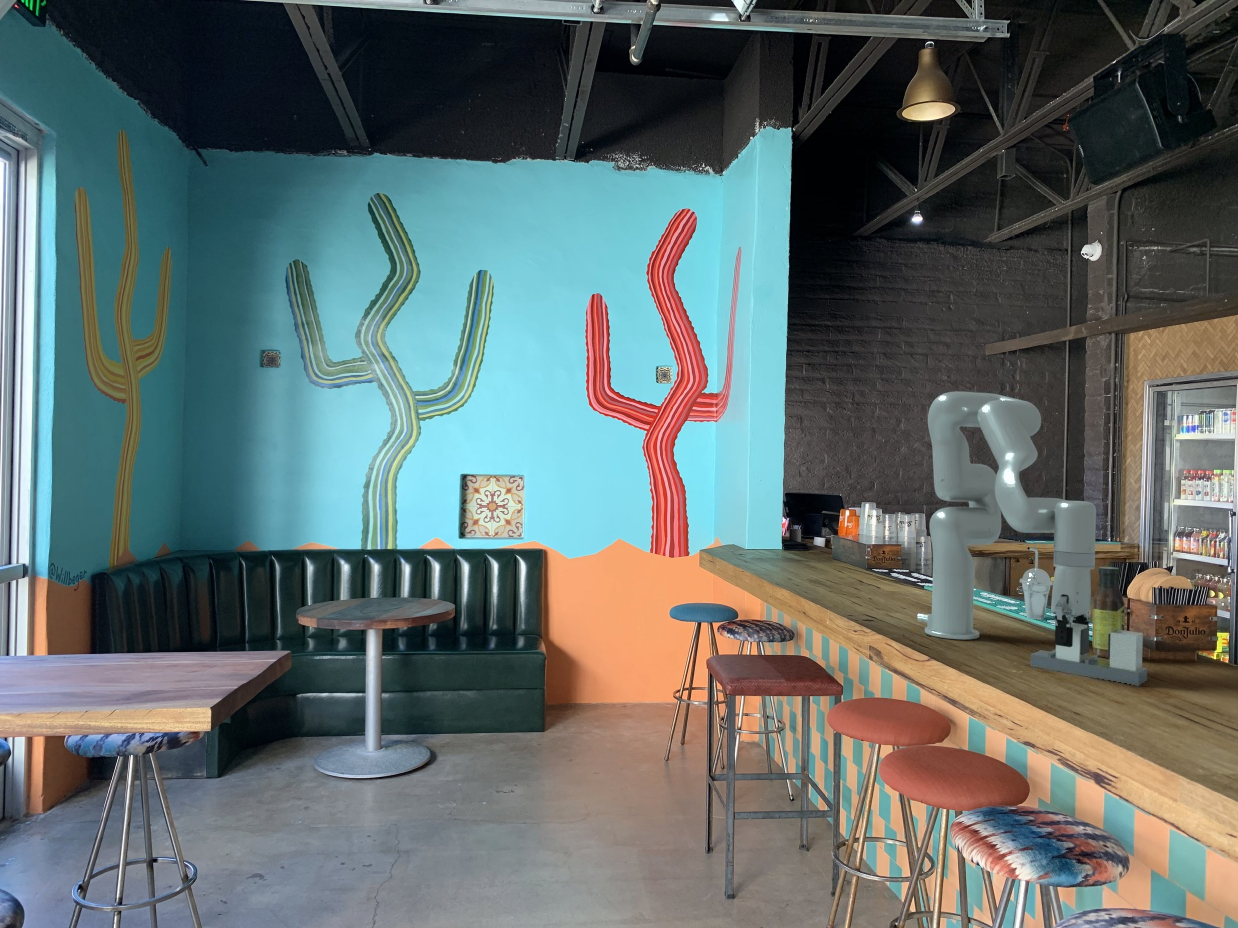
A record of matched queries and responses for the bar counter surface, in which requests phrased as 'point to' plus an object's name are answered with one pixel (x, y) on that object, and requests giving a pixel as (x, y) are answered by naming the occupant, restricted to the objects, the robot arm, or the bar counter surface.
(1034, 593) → the cup with straw
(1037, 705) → the bar counter surface
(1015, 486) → the robot arm
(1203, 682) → the bar counter surface
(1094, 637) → the sauce bottle
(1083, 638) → the finger block
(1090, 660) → the rail
